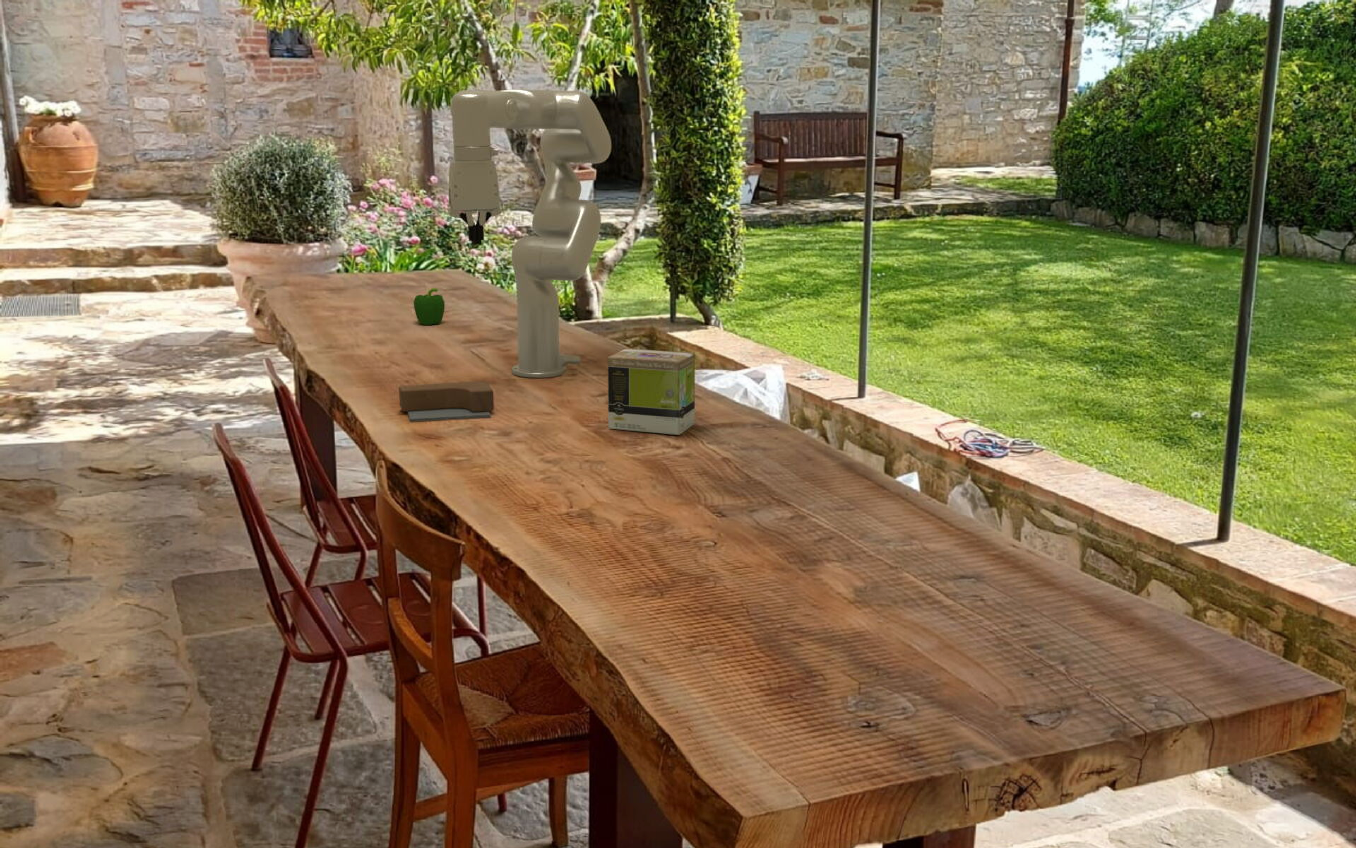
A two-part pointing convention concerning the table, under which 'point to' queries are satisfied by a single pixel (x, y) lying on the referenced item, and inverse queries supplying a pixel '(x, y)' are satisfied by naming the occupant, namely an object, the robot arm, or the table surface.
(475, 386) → the wooden block
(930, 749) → the table surface
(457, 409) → the mat
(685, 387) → the tea box
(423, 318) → the bell pepper
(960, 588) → the table surface
